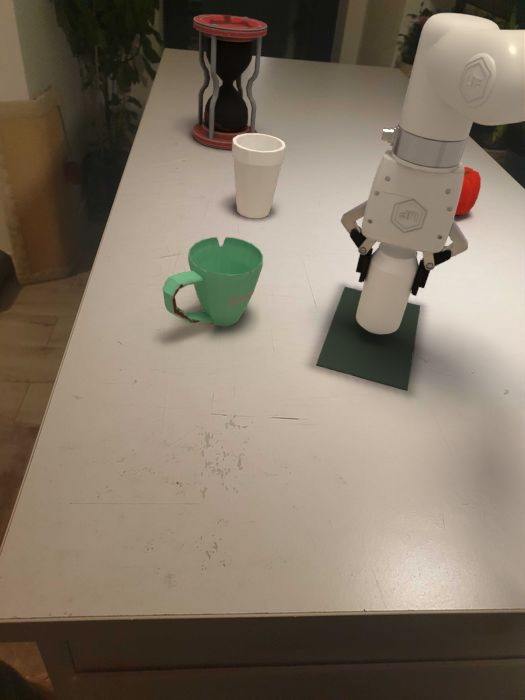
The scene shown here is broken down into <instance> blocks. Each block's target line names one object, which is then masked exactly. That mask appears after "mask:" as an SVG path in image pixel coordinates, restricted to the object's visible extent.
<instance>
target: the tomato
mask: <svg viewBox="0 0 525 700" xmlns="http://www.w3.org/2000/svg"><path fill="white" fill-rule="evenodd" d="M464 169H465V170H464V179H463V185H462V190H461V194H460V198H459V202H458V206H457V209H456V213H455V216H461V215H466V214H467V213H469V212H471V210H472V209H473V208H474V207H475V205H476V202H477V200H478V198H479V195H480V191H481V187H482V186H481V183H482V182H481V180H482V178H481V175H480V172H479V171H477V170H474V169H473V168H471V167H469V166H464Z"/></svg>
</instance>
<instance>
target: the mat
mask: <svg viewBox="0 0 525 700" xmlns="http://www.w3.org/2000/svg"><path fill="white" fill-rule="evenodd" d="M361 293H362V290H361V289H357V288H352V287H348V286H344V289H343V290H342V293H341V296H340V299H339V300H338V301H339V302H338V304H337V307H336V310H335V312H334V314H333V318H332V320H331V323H330V326H329V328H328V331H327V334H326V337H325V340H324V342H323V345H322V348H321V351H320V353H319V356H318V358H317V361H316V366H318V367H322V368H323V369H327V370H331V371H336V372H339V373H343V374H346V375H350V376H353V377H357V378H361V379H364V380H367V381H370V382H374V383H379V384H381V385H386V386H389V387H393V388H396V389H399V390H402V391H403V390H404V391H408V390H409V384H410V376H411V370H412V369H411V368H412V365H413V357H414V350H415V342H416V337H417V329H418V325H419V324H418V323H419V317H420V312H421V305H419V304H416V303H412V302H409V301H408V302H407V305H406V308H405V311H404V314H403V317H402V320H401V323H400V326H399V328H398V329H397V330H396V331H395V332H393V333H389V334H374V333H371V332H369V331H367V330H366V329H364V328H363V327H362V326H360V325H359V323H358V322H357V320H356V313H357V309H358V305H359V301H360V297H361Z"/></svg>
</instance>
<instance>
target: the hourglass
mask: <svg viewBox="0 0 525 700" xmlns="http://www.w3.org/2000/svg"><path fill="white" fill-rule="evenodd" d="M192 20H193V22H192V23H193V24H192V26H193V27H192V28H194V29H195V30H196V31H198V33H199V34H198V35H199V36H198V61H199V66H200V67H201V70H202V71H203V78H204V79H203V83H202V86H201V87H200V88H199V91H198V97H197V100H198V101H197V103H198V105H197V107H198V108H197V124H195V125H193V127H192V138H193V139H194V140H195V141H196V142H197V143H199V144H201V145H204V146H207V147H209V148H215V149H221V150H232V143H233V138H234V137H236V136H237V135H241V134H246V133H258V134H259V131H257V130H256V117H257V103H256V100H255V98H254V96H253V89H252V88H253V85H254V82H255V80H257V78H258V76H259V74H260V67H261V55H262V43H263V42H262V41H263V40H262V39H263V37H265V36H266V35H267V34H268V25H267V23H265V22H263V21H261V20H258V19H255V18H251V17H248V16H238V15H231V14H214V13H213V14H212V13H211V14H199V15H196V16H194V17H193V19H192ZM205 36H206V39H205ZM255 40H256V46H255V58H254V59H255V60H254V70H253V73H252V75H251V76H250V78H249V79H248V80H247V82H246V86H245V91H246V92H245V93H246V98H247V99H248V101H249V103H250V107H251V112H250V124H249V108H248V105H247V102H246V101H245V99H244V90H243V87H242V78H243V77H242V76H243V74H244V73H245V72H246V70H247V69H248V68H249V66H250V65H251V62H252V60H253V55H254V41H255ZM205 56H206V59H207V61H208V64H209V66H210V70H209V69H208V67H207V65H206V62H205ZM218 77H219V78H218ZM219 79H220V80H221V85H220V80H219ZM211 80H212V94H211V95H210V97H208V99H207V101H206V103H205V106H204V94H205V91H206V90H207V88H208V87H209V85H210V81H211ZM234 82H235V85H236V87H235V86H234ZM248 124H249V125H248Z"/></svg>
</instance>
